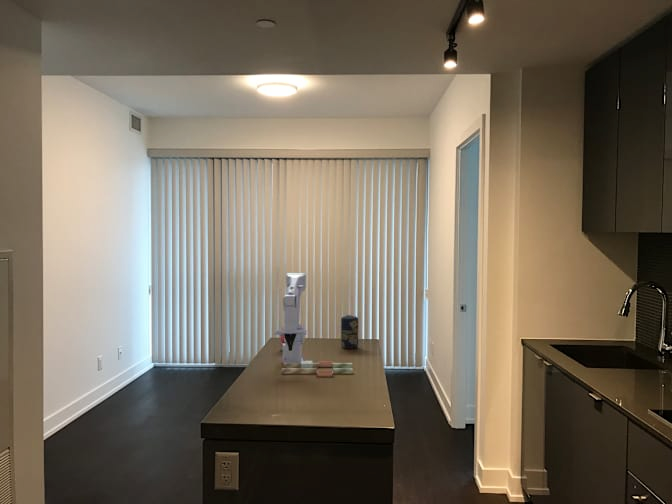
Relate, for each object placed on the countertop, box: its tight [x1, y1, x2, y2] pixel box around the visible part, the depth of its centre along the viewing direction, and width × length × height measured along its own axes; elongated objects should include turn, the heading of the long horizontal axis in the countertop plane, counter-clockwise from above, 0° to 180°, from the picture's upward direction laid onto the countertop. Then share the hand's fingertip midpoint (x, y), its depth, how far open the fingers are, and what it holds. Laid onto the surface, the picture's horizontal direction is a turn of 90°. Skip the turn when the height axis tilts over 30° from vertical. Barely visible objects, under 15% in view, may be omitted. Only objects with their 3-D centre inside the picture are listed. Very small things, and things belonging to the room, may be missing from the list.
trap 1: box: [317, 361, 334, 368], centre depth 235 cm, size 7×4×2 cm, turn 90°
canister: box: [340, 314, 359, 349], centre depth 272 cm, size 10×10×18 cm
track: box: [281, 362, 354, 375], centre depth 227 cm, size 32×10×2 cm, turn 90°
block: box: [301, 360, 313, 368], centre depth 227 cm, size 5×5×4 cm
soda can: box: [279, 326, 285, 351], centre depth 267 cm, size 7×7×12 cm
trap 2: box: [316, 369, 334, 378], centre depth 219 cm, size 7×4×2 cm, turn 90°
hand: (290, 350), depth 226 cm, fingers closed
